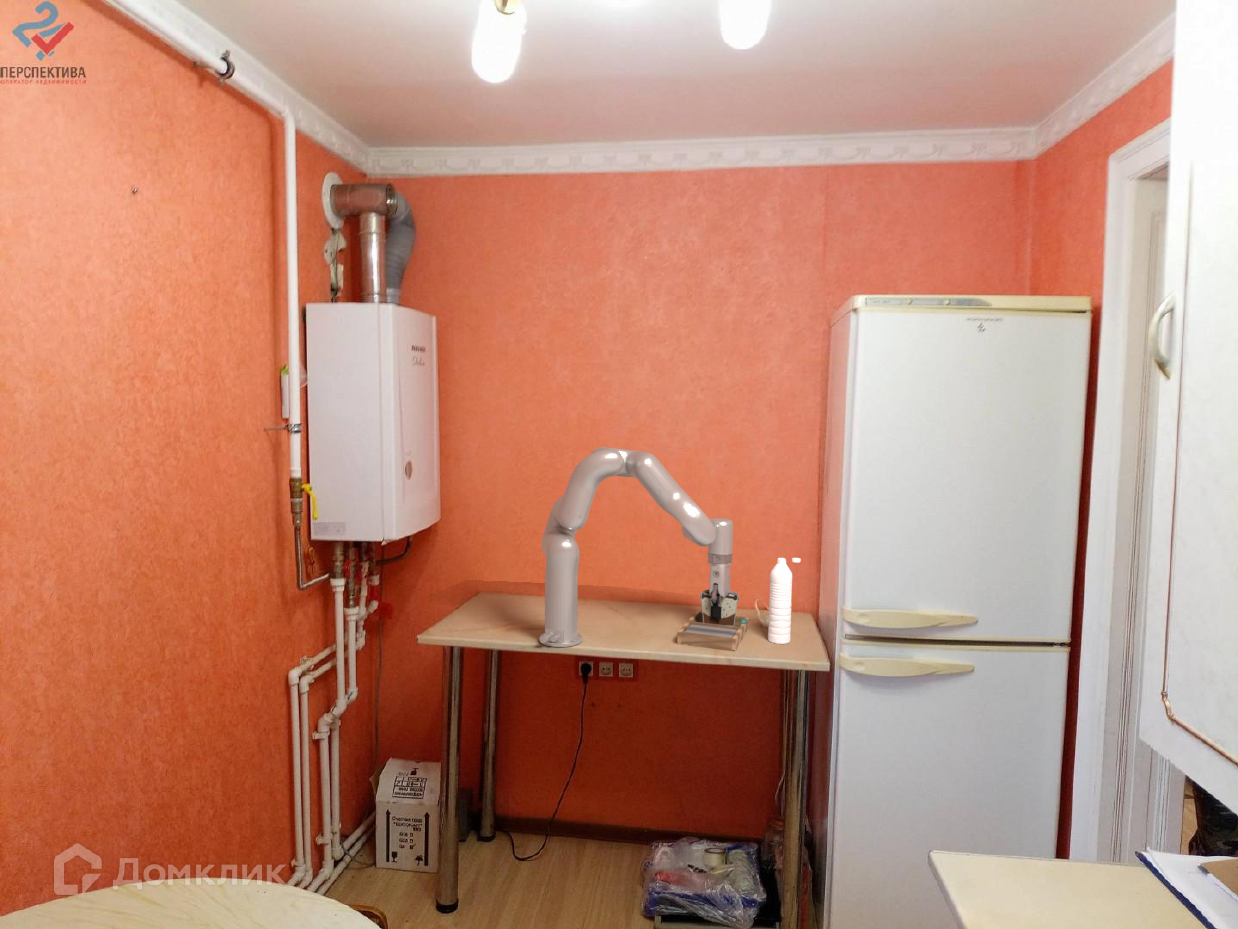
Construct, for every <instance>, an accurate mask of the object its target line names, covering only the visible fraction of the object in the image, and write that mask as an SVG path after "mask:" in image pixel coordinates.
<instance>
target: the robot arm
mask: <svg viewBox="0 0 1238 929" xmlns="http://www.w3.org/2000/svg"><path fill="white" fill-rule="evenodd" d="M614 476H615V477H625V478H635V479H636V480H637V481H638V482H639V484H641V485H642V487H643V488H644V489H645V490H646V492H647V493H648V494H649V495H650V497H651V498H652V499H653V500H654V501H655V503H656V504H657V505H658V506H659V507H660V508H661V509H662V510H663V511H664V512H665V513H667V514H669V515H670V516H671V517H673V518H674V519H675V520H676V521H677V522H678V523H679V524H680V525H681V533H682V535H683V536H684V538H685V539H686V540H688V541H689V542H692V543H694V544H695V545H697V546H700V547H707V564H709V565H710V568H709V585H708V586H709V587H708V590H709V595H710V596H712V600H711V619H718V620H720V619H721V609H722V606H721V596H722V597H723V598H725V597H726V596H727V595H728V593H729V590H730V591H731V565H733V549H734V548H733V546H734V545H733V542H734V541H733V540H734V522H733V521H732V520H731V519H729V518H727V517H726V518H725V517H716V518H709V517H708V516H707V514H706V513H704V511H703V510H702V509H701V507H699V505H698V504H697V503H696V502H695V501H694V500H693V499H692V497H690V495H689V494H688V493H687V492H686V491H685V490H684V489H683V488H682V487H681V486H680V485H679V483H678V482H677V481H676V480H675V479H674V478H673V476H672V475H671V473H669V472H668V470H667V468H665V466H664V465H663V463H661V462H660V460H659V459H658V458H657V457H656V455H654V454H653V453H651V452H648V451H643V450H633V449H631V450H630V449H623V448H615V447H608V446H599V447H596V448H595V449H594V450H592V451H591V453H590V454H589V455H586V456H585V457H584V458H583V459H582V460H581V461H579V463H578V464H577V465H576V466H575V467H574V469H573V470H572V473H571V475H570V477H569V480H568V483H567V486H566V488H565V491H564V494H563V496H560V497H559V498H557V499H556V501H555V502H554V503H553V505H552V507H551V509H550V513H549V516H548V520H547V522H546V526H545V528H544V532H543V535H542V539H541V549H542V552H543V554H544V556H545V572H544V575H545V576H544V632H543V633H541V635H540V636H539V640H538V641H539V642H540V643H541V644H542V645H545V646H547V647H555V648H565V647H574V646H577V645H579V644H580V643H582V642H583V634H581V633H579V632H578V602H579V601H578V599H579V598H578V596H579V594H578V589H579V586H578V583H579V565H580V558H581V557H580V555H581V554H580V548H579V544H578V543H577V540H575V538H576V534H577V531H579V530H581V529H582V528H584V527H585V525H586V524H587V521H588V519H589V515H590V511H591V507H592V504H593V501H594V498H595V495H596V493H597V490H598V487H599V486H600V484H602V482H603V481H604V480H605V479H607V478H611V477H614ZM717 594H719V595H720V596H717ZM717 598H719V602H718V599H717Z"/></svg>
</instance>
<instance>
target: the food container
mask: <svg viewBox="0 0 1238 929" xmlns="http://www.w3.org/2000/svg"><path fill="white" fill-rule="evenodd" d="M717 596H720V595H719V594H717ZM717 599H718V602H719V598H717ZM698 600H701V612H702V614H703V623H710V624H719V625H727V626H734V624H735V617H736V616H737V608H738V601H739V602H740V601H741V600H740V596H739V594H738V593H737V592H736V591H734V590H731V589H730V590H729V593H728V595H727V596H726V597H725V598H723V597H722V596H721V606H722V609H721V619H720V620H718V619H711V600H712V596H710V595H709V589H704V590H702V591H701V592H700V595H699V598H698Z"/></svg>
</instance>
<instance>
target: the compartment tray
mask: <svg viewBox="0 0 1238 929" xmlns="http://www.w3.org/2000/svg"><path fill="white" fill-rule="evenodd" d="M749 629H750V617H748V616H747V617H746V616H738V615H736V617H735V624H734V626H727V625H719V624H710V623H703V614H702V611H695V612H694V613H693V615H692V616H691V617H690V618H689V619H688V620H687V621H686V622H685V623H684V624H683V625H682V627H681V628H679V630H678V631H677V640H676V641H677V644H678V645H683V644H688V645H687V646H691V645H695V646H694V647H698V646H701V647H700V648H706V647H707V649H715V650H722V651H729V650H736V651H737V649H738V648H739V646H740V644H741V643H742V641H743V639H744V638H745V636H746V634H747V633H748V631H749ZM746 632H747V633H746ZM741 640H742V641H741ZM740 642H741V643H740ZM738 645H739V646H738ZM737 647H738V648H737Z"/></svg>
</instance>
